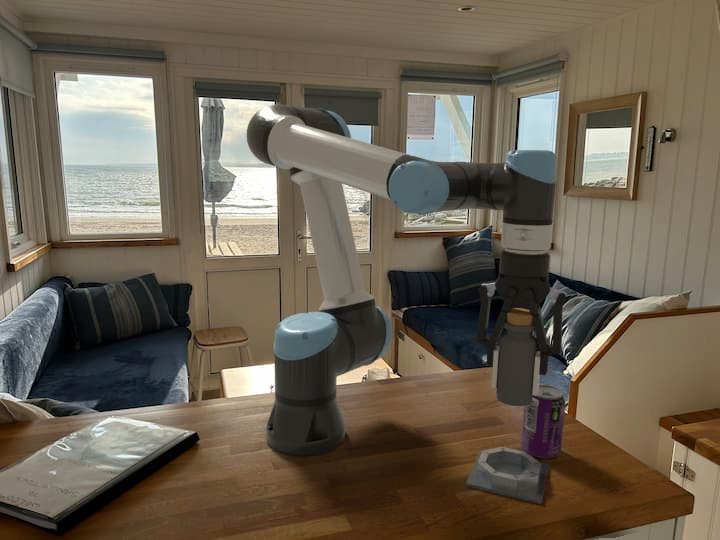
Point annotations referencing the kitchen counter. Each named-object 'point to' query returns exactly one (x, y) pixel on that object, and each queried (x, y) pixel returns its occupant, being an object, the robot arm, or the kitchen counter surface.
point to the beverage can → (544, 423)
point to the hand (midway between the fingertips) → (515, 388)
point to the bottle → (516, 359)
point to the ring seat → (509, 474)
